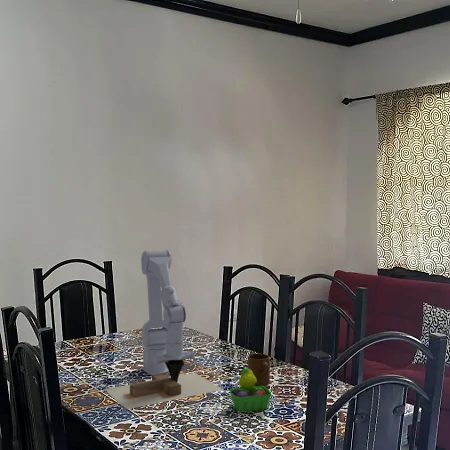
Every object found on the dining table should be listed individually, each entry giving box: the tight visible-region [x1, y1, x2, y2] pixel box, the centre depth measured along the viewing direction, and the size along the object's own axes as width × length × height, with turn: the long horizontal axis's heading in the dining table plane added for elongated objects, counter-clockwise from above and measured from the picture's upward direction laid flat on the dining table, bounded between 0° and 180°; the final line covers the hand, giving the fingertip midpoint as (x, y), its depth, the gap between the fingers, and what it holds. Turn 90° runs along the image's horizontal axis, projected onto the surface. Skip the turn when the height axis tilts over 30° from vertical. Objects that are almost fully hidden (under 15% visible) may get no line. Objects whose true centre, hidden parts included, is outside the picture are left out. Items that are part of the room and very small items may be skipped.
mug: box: [247, 353, 271, 387], centre depth 192 cm, size 12×8×9 cm, turn 16°
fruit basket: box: [229, 367, 272, 413], centre depth 173 cm, size 11×9×11 cm
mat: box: [103, 372, 224, 410], centre depth 188 cm, size 20×34×1 cm, turn 121°
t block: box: [129, 373, 181, 397], centre depth 186 cm, size 14×14×3 cm
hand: (174, 381), depth 190 cm, fingers closed
